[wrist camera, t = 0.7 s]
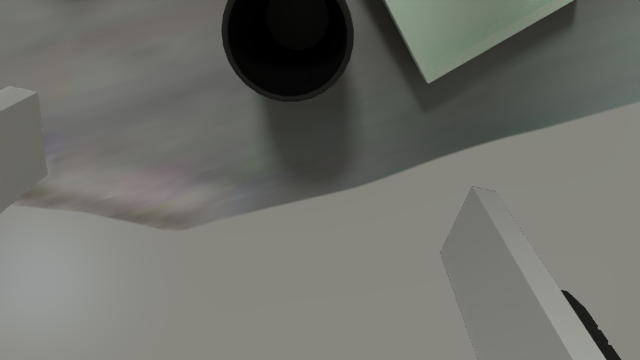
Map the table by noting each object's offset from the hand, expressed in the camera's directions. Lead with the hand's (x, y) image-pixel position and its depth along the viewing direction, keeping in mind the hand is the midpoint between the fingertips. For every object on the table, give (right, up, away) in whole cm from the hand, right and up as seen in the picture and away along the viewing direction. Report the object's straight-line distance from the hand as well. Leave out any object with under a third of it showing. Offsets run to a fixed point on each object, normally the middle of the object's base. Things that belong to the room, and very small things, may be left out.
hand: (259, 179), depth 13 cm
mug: (0, +15, +20) cm, 25 cm away
